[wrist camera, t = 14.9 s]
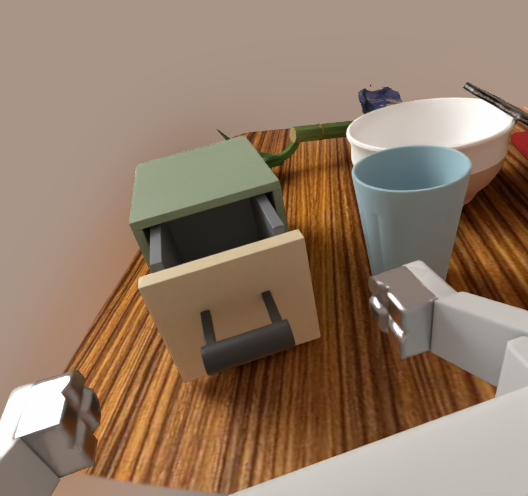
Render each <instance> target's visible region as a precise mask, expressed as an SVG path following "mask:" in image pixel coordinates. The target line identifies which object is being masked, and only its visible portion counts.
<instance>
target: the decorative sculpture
mask: <svg viewBox="0 0 528 496" xmlns="http://www.w3.org/2000/svg"><path fill="white" fill-rule="evenodd" d="M463 88H464V89H466V90H467V91H469V92H470V93H472V94H474V95H475V96H477V97H479V98H481V99H482V100H484V101H486V102H488V103H490V104H491V105H493V106H495V107H496V108H498V109H499V110H501V111H503V112H505V113H506V114H508V115H510V116H511V117H513V118H514V119H516V120H518V121H520V122H522V123H524V124H525V125H527V126H528V113H526V112H524V111H523V110H521V109H519V108H517V107H515V106H513V105H511V104H509V103H508V102H506V101H504V100H502V99H500V98H499V97H497V96H495V95H492V94H490V93H488V92H486V91H484V90H482V89H480V88H478V87H476V86H474V85H472V84H470V83H468V82H467V83H466V85H465V86H464V87H463Z"/></svg>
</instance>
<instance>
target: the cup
mask: <svg viewBox="0 0 528 496" xmlns="http://www.w3.org/2000/svg"><path fill="white" fill-rule="evenodd" d="M471 170H472V162H471V160H470V159H469V157H467V156H466V155H465V154H463V153H462V152H460V151H457V150H454V149H451V148H447V147H442V146H434V145H407V146H399V147H393V148H388V149H384V150H381V151H378V152H375V153H372V154H370V155H368V156H366V157H364V158H362V159H361V160H360V161H358V162H357V163H356V164H355V166H354V167H353V169H352V178H353V183H354V188H355V193H356V198H357V201H358V206H359V211H360V217H361V222H362V227H363V232H364V237H365V242H366V247H367V252H368V257H369V262H370V267H371V272H372V276H373V275H376V274H379V273H382V272H385V271H388V270H391V269H394V268H397V267H400V266H402V265H405V264H408V263H411V262H414V261H417V260H420V261H423V262H424V263H425V264H426V265H427V266H428V267H429V268H430V269H432V270H433V271H434V272H435V273H436V274H437V275H438V276H439V277H441V278H442V279H443V280H444V281H445V280H446V276H447V271H448V267H449V263H450V259H451V254H452V250H453V246H454V241H455V237H456V233H457V229H458V224H459V220H460V216H461V211H462V207H463V203H464V198H465V195H466V191H467V187H468V182H469V178H470V174H471Z"/></svg>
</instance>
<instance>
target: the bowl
mask: <svg viewBox="0 0 528 496" xmlns="http://www.w3.org/2000/svg"><path fill="white" fill-rule="evenodd" d="M516 123H517V120H516V119H514V118H513V117H511V116H510V115H508V114H506V113H505V112H503V111H501V110H499V109H498V108H496V107H495V106H493V105H491V104H490V103H488V102H486V101H484V100H482V99H474V98H435V99H424V100H416V101H410V102H404V103H399V104H395V105H390V106H386V107H383V108H380V109H377V110H374V111H372V112H369V113H367V114H365V115H363V116H361V117H359V118H357V119H356V120H355V121H353V122H352V123H351V124H350V125H349V127H348V128H347V132H346V136H347V139H348V140H349V142H350V144H351V160H352V163H353V167H354V166H355V164H356V163H357V162H358V161H360V160H361V159H362V158H364V157H366V156H368V155H370V154H372V153H375V152H378V151H381V150H384V149H388V148H393V147H399V146H407V145H434V146H442V147H447V148H451V149H454V150H457V151H460V152H462V153H463V154H465V155H466V156H467V157H469V159H470V160H471V162H472V170H471V174H470V178H469V182H468V187H467V191H466V195H465V198H464V203H463V205H465V204H467V203H469V202H470V201H471V200H472V199H473V198H474V197H475V195H476V193H477V192H479V191H480V190H481V189H483V188H484V187H485V186H486V185H488V184H489V183H490V182H491V181H492V179H493V178H494V177H495V176H496V175H497V173H498V172H499V171H500V169H501V167H502V165H503V163H504V160H505V157H506V154H507V152H508V141H509V135H510V132H511V131H512V129H513V128H514V126H515V124H516Z"/></svg>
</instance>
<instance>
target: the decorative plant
mask: <svg viewBox="0 0 528 496" xmlns="http://www.w3.org/2000/svg"><path fill="white" fill-rule="evenodd" d="M352 122H353V121H346V122H336V123H326V124H317V125H307V126H297V127H292V128H291V129H290V135H289V136H290V139H291V143H290V145H289V147H288V148H287V149H286V150H284V151H283V152H281V153H279V154H275V155H272V154H267V153H263V152H258V151H257V152H258V154H259V155H260V156H261V157H267V158H265V159H264V161H265V163H266V164H267V165H268V167H269V168H272V167H274V166H279V165H281V164H283V162H284V160H286V159H288V158H289V157H290V156H291V155H292V154H293V153H294V152H295V151H296V149H297V147H298V146H299V144H300V142H306V141H314V140H319V141H320V140H323V139H331V138H339V137H347V136H346V132H347V128H348V127H349V125H350V124H351V123H352ZM218 131H219V130H218ZM219 133H220V134H221V135H222V136H223V137H224V138H225V139H226V140H229V139H230V138H228V137H227V136H226V135H224V134H223V133H222V132H220V131H219Z"/></svg>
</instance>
